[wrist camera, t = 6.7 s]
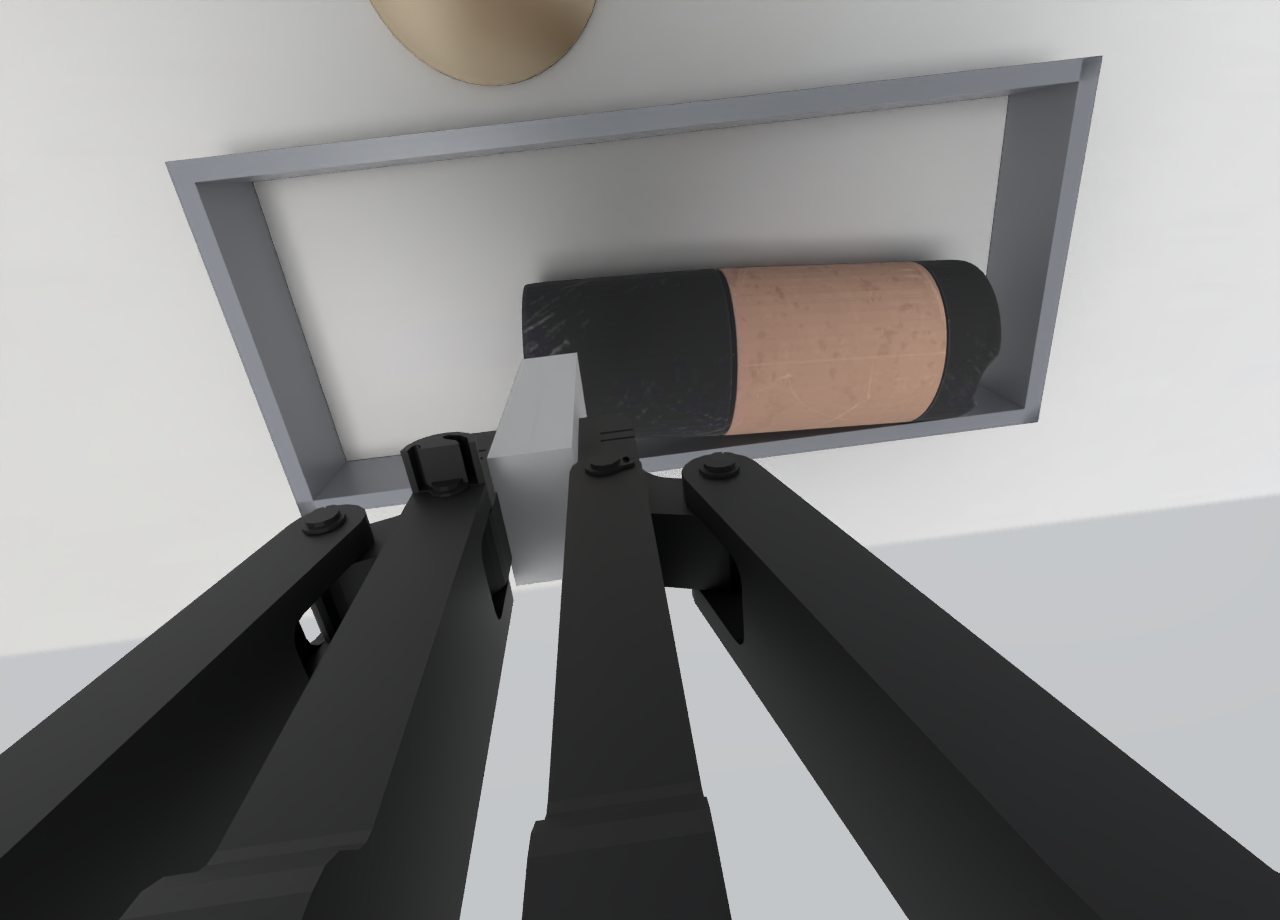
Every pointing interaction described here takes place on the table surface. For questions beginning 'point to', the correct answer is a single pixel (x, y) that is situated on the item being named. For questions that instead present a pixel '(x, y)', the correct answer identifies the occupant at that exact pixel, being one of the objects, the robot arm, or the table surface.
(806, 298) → the travel mug
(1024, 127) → the tray
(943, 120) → the table surface
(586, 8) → the cork coaster
